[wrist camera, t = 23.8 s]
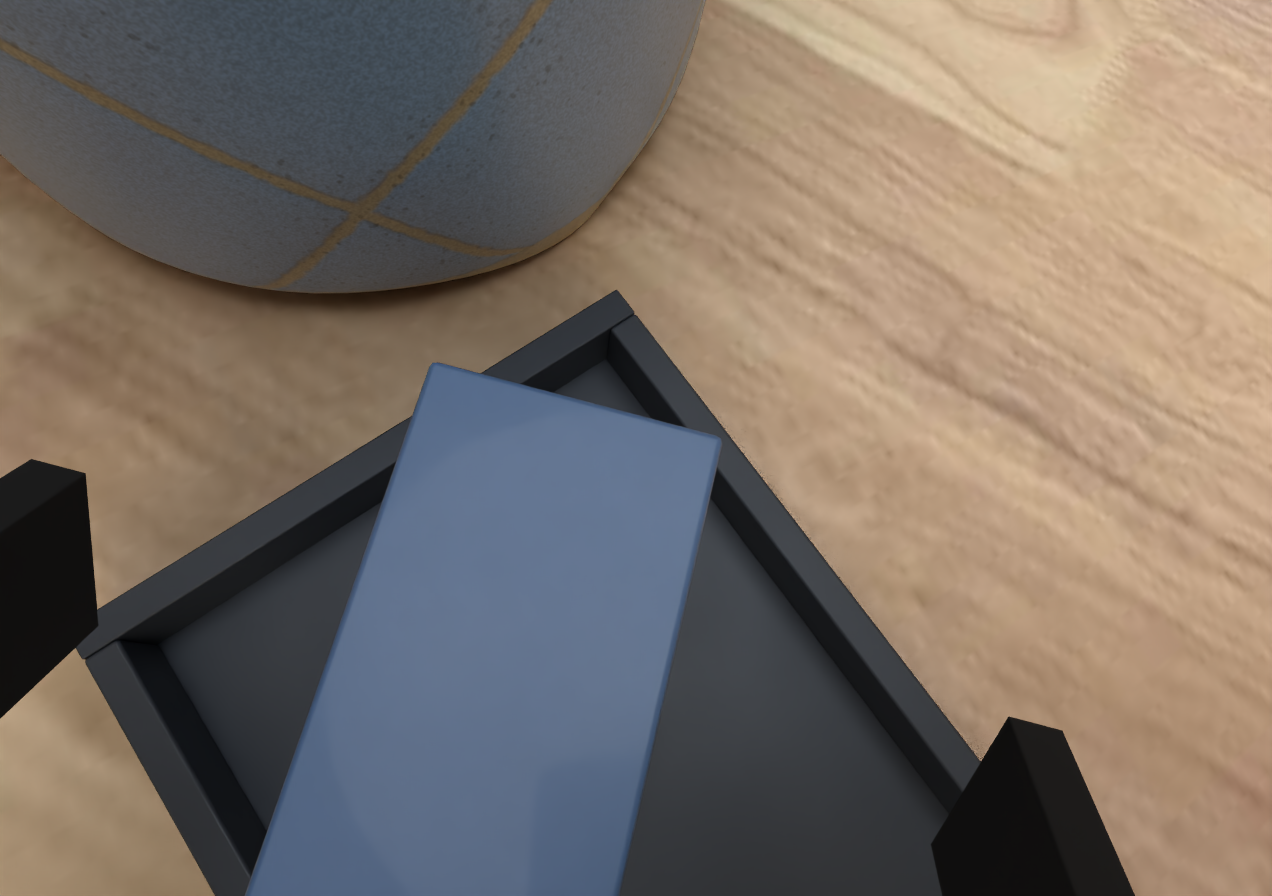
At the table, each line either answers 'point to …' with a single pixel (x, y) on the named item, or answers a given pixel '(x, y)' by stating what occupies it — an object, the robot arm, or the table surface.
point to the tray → (693, 704)
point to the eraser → (497, 654)
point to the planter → (336, 127)
